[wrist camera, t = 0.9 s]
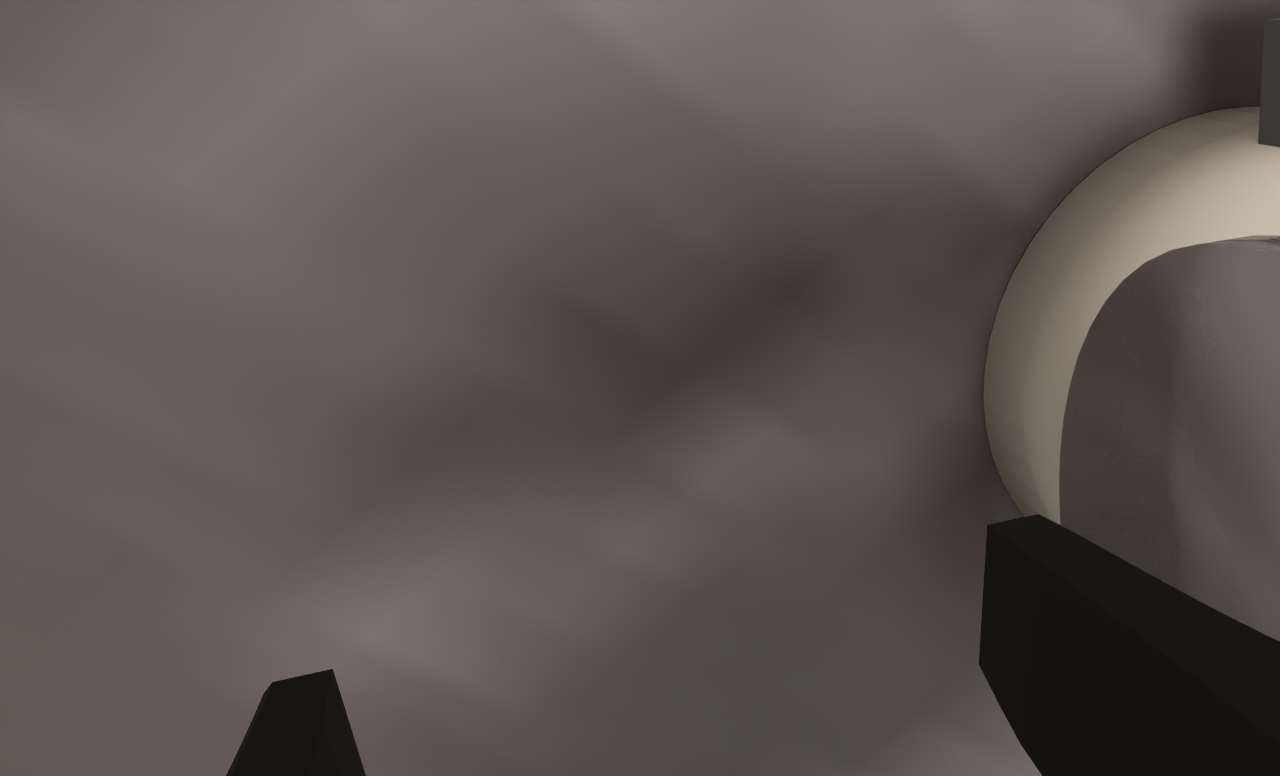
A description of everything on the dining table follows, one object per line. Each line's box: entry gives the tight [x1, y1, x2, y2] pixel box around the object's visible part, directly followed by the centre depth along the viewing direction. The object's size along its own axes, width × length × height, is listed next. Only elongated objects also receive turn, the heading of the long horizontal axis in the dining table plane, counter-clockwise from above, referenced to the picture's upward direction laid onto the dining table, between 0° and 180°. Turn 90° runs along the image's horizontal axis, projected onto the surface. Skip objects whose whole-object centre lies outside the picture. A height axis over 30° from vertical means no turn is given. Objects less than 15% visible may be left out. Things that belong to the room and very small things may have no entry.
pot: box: [983, 18, 1280, 525], centre depth 27 cm, size 23×12×5 cm, turn 8°
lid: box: [1059, 235, 1280, 641], centre depth 17 cm, size 12×12×2 cm
